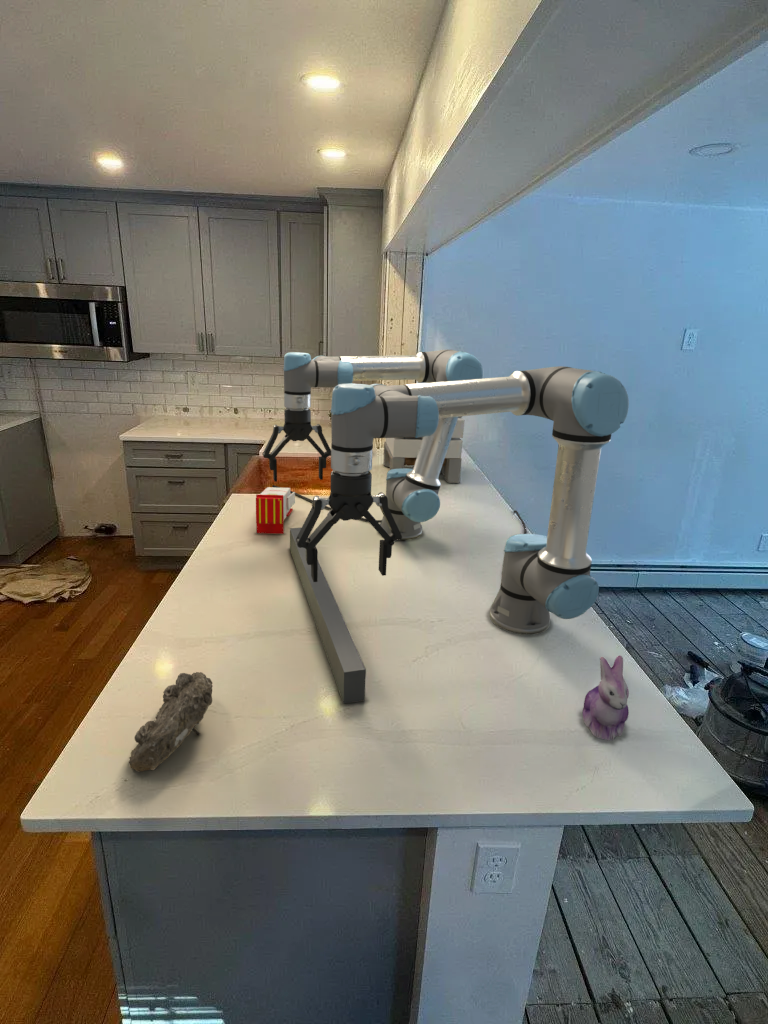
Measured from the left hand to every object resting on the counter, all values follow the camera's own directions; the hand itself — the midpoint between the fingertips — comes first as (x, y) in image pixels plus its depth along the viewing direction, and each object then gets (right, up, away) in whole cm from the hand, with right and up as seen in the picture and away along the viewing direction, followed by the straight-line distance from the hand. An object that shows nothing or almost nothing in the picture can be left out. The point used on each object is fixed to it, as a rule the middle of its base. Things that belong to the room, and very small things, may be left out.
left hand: (298, 479), depth 170 cm
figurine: (+69, -51, -59) cm, 104 cm away
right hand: (+19, -22, -59) cm, 66 cm away
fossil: (-12, -50, -66) cm, 84 cm away
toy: (-14, -13, +38) cm, 42 cm away
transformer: (+43, +9, +105) cm, 114 cm away
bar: (+9, -35, -21) cm, 42 cm away
